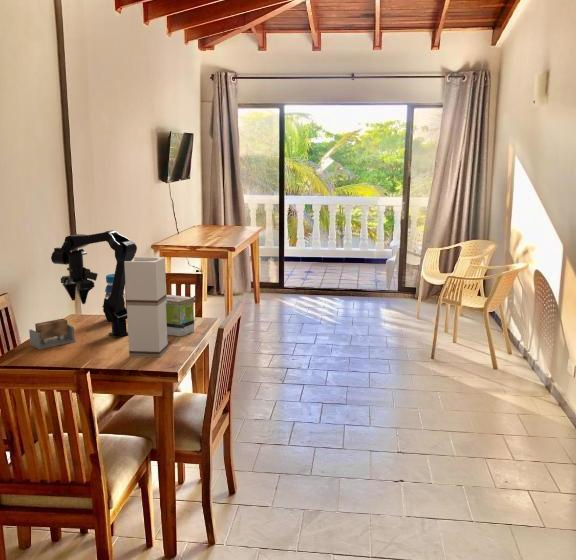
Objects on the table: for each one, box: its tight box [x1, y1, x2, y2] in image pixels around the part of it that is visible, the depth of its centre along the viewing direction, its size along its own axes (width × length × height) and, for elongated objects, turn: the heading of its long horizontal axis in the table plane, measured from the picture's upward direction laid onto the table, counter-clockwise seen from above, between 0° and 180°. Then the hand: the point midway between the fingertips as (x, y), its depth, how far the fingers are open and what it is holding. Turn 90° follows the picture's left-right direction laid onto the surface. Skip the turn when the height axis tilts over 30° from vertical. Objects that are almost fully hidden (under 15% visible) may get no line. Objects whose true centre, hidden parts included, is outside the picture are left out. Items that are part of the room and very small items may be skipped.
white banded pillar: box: [124, 256, 170, 358], centre depth 230 cm, size 11×11×35 cm
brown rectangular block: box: [34, 318, 69, 340], centre depth 245 cm, size 11×4×6 cm, turn 134°
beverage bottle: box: [104, 273, 126, 317], centre depth 280 cm, size 8×8×20 cm
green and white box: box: [166, 294, 195, 337], centre depth 259 cm, size 15×10×15 cm, turn 62°
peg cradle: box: [28, 323, 76, 350], centre depth 245 cm, size 14×9×6 cm, turn 134°
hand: (78, 302), depth 262 cm, fingers open, 9 cm apart
